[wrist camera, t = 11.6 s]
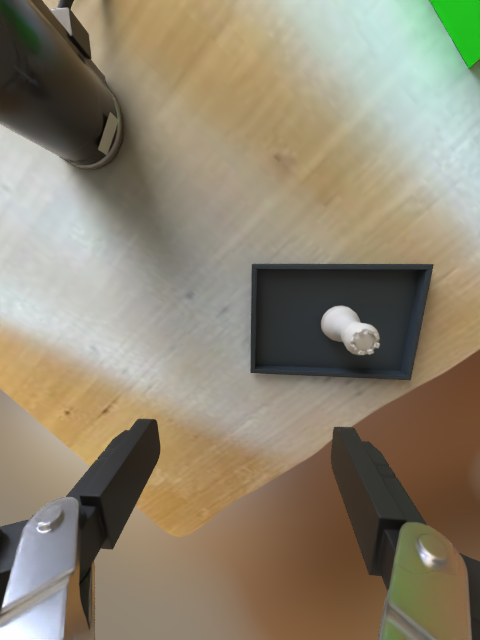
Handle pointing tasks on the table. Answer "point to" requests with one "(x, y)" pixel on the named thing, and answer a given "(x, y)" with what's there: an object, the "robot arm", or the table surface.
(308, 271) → the tray
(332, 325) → the rook chess piece
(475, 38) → the building blocks toy
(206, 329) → the table surface
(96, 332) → the table surface
